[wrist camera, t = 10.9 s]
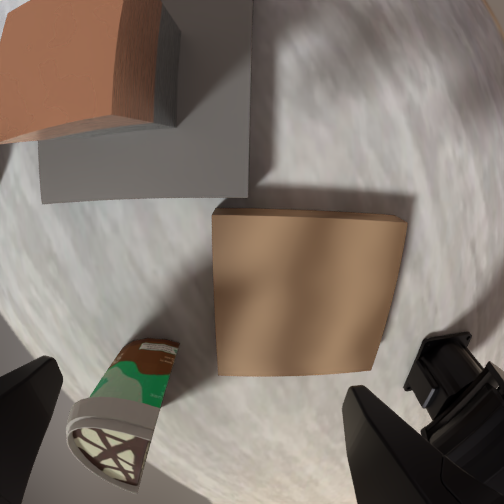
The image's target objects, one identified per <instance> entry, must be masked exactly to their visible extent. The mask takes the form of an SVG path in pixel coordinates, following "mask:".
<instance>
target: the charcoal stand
mask: <svg viewBox="0 0 504 504" xmlns="http://www.w3.org/2000/svg"><path fill="white" fill-rule="evenodd" d="M161 2H162V3H163V5H164V6H165V8H166V9H167V11H168V12H169V14H170V15H171V17H172V18H173V20H174V21H175V23H176V24H177V26H178V27H179V29H180V30H181V40H180V54H179V70H178V91H177V128H168V129H155V130H143V131H134V132H125V133H117V134H109V135H102V136H95V137H89V138H76V139H53V140H38V155H39V175H40V188H41V199H42V204H53V203H66V202H80V201H97V200H117V199H144V198H248V177H249V131H250V89H251V51H252V15H253V0H161Z"/></svg>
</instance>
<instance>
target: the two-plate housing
mask: <svg viewBox="0 0 504 504" xmlns="http://www.w3.org/2000/svg"><path fill="white" fill-rule="evenodd" d="M180 40H181V30H180V29H179V27H178V26H177V24H176V23H175V21H174V20H173V18H172V17H171V15H170V14H169V12H168V11H167V9H166V8H165V6H164V5H163V3H162V2H161V0H30V1H28V2H26V3H25V4H23V5H21V6H19V7H18V8H16V9H14V10H13V11H11V12H9V13H8V15H7V18H6V22H5V25H4V29H3V33H2V37H1V41H0V144H7V143H16V142H26V141H38V140H53V139H76V138H89V137H95V136H102V135H109V134H117V133H125V132H134V131H143V130H155V129H168V128H177V91H178V70H179V54H180Z"/></svg>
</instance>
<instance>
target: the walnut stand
mask: <svg viewBox="0 0 504 504" xmlns="http://www.w3.org/2000/svg"><path fill="white" fill-rule="evenodd" d="M407 225H408V223H407V222H405V221H404V220H402V219H400V218H398V217H397V216H395V215H385V214H370V213H355V212H337V211H316V210H292V209H257V208H215V210H214V212H213V214H212V253H213V285H214V309H215V330H216V348H217V364H218V375H221V376H306V375H325V374H338V373H350V372H360V371H369V370H371V369H372V366H373V363H374V360H375V357H376V354H377V351H378V348H379V345H380V342H381V338H382V335H383V332H384V328H385V325H386V321H387V318H388V314H389V310H390V307H391V303H392V299H393V295H394V291H395V286H396V282H397V278H398V273H399V268H400V264H401V259H402V254H403V248H404V243H405V237H406V231H407Z"/></svg>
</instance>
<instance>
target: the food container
mask: <svg viewBox="0 0 504 504" xmlns="http://www.w3.org/2000/svg"><path fill="white" fill-rule="evenodd" d="M179 345H180V343H178V342H174V341H170V340H167V339H155V338H145V339H141V340H136V341H132V342H131V343H129V344H128V345H126V346H125V347H123V348H122V350H121V351H120V353H119V354H118V355H117V357H116V358H115V360H114V361H113V363H112V364H111V366H110V367H109V368H108V370H107V371H106V373H105V374H104V376H103V377H102V379H101V380H100V382H99V383H98V385H97V386H96V388H95V389H94V391H93V392H92V394H91V395H90V397H89V398H86V399H82V400H80V401H78V402H76V403H75V404H74V405H73V406H72V408H71V410H70V413H69V418H68V423H67V427H66V434H67V438H66V439H67V445H68V447H69V449H70V451H71V452H72V454H73V455H74V456H75V457H76V458H77V459H78V461H79V462H80V463H82V464H83V465H84V466H85V467H86V468H87V469H89V470H90V471H91V472H93V473H94V474H96V475H97V476H99V477H100V478H102V479H103V480H105V481H107V482H109V483H111V484H113V485H115V486H117V487H119V488H121V489H124V490H126V491H129V492H132V493H134V494H137V493H138V489H139V485H140V481H141V477H142V474H143V470H144V466H145V462H146V458H147V454H148V451H149V447H150V443H151V440H152V436H153V432H154V429H155V425H156V422H157V418H158V415H159V411H160V408H161V404H162V401H163V398H164V394H165V391H166V387H167V384H168V381H169V377H170V374H171V371H172V367H173V364H174V361H175V358H176V355H177V351H178V348H179Z"/></svg>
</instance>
